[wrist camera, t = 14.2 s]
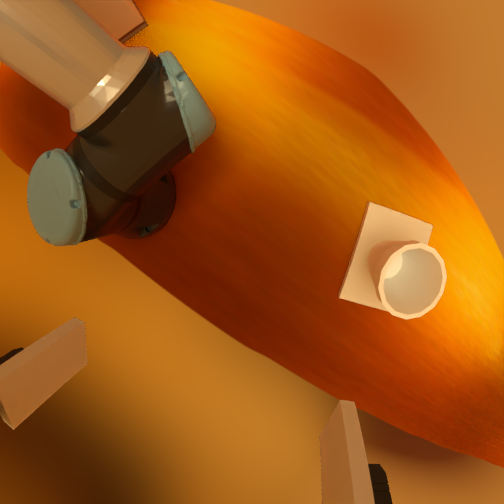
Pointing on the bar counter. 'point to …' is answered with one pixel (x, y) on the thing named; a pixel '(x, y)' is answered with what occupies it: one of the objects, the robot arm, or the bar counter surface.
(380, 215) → the tile
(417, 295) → the foam cup
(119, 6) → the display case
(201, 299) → the bar counter surface
